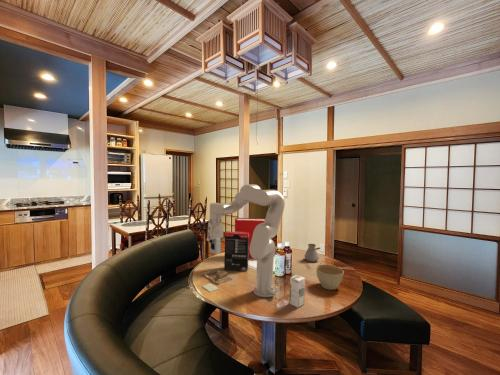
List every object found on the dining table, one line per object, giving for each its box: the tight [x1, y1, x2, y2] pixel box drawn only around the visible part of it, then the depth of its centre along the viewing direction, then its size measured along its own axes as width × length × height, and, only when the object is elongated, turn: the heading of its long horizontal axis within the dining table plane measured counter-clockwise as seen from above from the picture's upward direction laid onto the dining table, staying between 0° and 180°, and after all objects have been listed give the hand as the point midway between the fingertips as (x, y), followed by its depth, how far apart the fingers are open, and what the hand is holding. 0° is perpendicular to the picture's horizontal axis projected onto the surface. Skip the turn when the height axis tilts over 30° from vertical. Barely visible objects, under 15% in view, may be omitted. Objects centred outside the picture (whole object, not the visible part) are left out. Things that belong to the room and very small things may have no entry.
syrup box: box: [288, 274, 306, 308], centre depth 122 cm, size 6×6×14 cm
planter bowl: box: [315, 264, 345, 291], centre depth 143 cm, size 16×16×11 cm
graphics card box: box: [223, 230, 249, 272], centre depth 167 cm, size 17×7×27 cm, turn 85°
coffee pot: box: [304, 243, 321, 263], centre depth 184 cm, size 21×12×15 cm, turn 8°
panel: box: [209, 238, 222, 255], centre depth 155 cm, size 8×3×10 cm, turn 42°
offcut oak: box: [214, 275, 230, 282], centre depth 150 cm, size 4×8×2 cm, turn 132°
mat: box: [201, 282, 219, 293], centre depth 139 cm, size 9×6×1 cm, turn 42°
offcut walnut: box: [215, 270, 229, 279], centre depth 150 cm, size 4×6×2 cm, turn 137°
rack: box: [202, 268, 233, 285], centre depth 153 cm, size 18×11×2 cm, turn 42°
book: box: [234, 217, 266, 259], centre depth 194 cm, size 27×8×32 cm, turn 88°
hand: (215, 248), depth 155 cm, fingers closed on panel, 3 cm apart
